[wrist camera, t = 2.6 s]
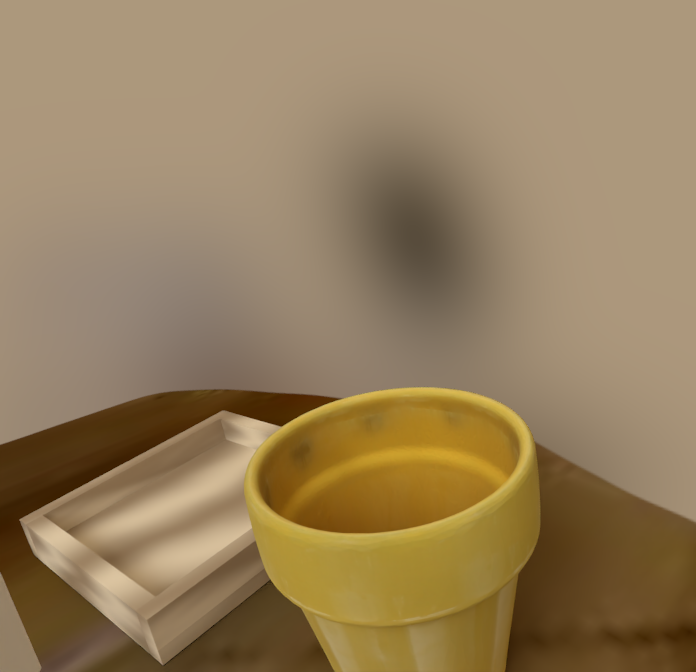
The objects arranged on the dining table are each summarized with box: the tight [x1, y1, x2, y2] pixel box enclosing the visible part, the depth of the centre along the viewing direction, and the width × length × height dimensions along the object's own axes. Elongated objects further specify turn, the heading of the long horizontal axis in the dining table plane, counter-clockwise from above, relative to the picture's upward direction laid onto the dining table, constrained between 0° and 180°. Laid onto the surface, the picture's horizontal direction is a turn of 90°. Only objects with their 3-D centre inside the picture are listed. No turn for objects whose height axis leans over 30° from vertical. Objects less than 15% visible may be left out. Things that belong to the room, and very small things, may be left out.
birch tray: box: [19, 410, 281, 665], centre depth 38 cm, size 15×15×2 cm
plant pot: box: [244, 387, 541, 672], centre depth 24 cm, size 10×10×10 cm
